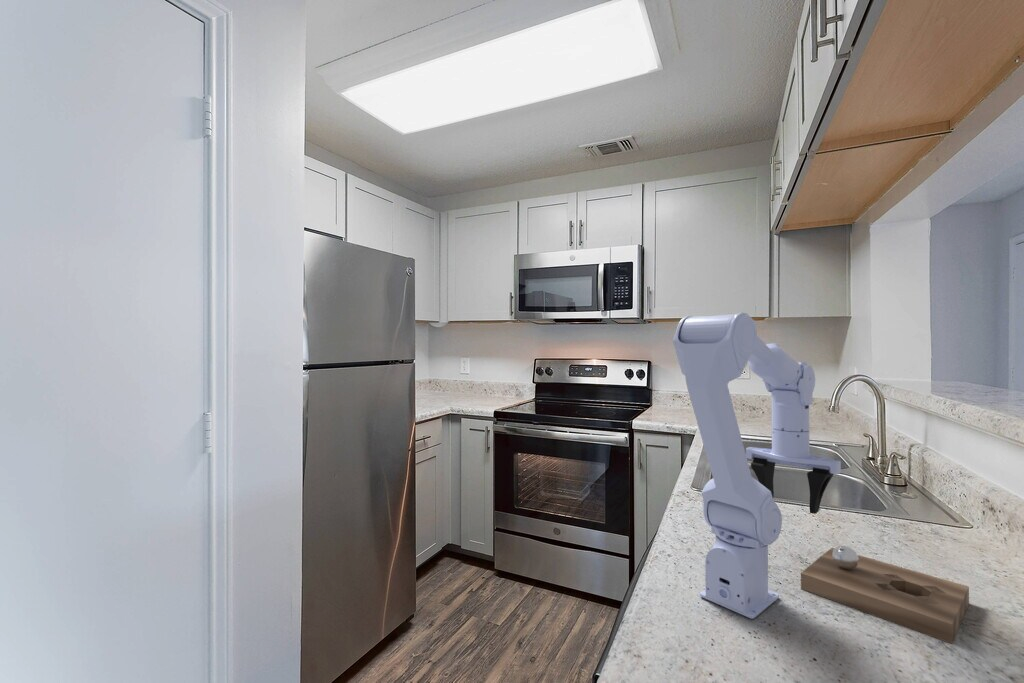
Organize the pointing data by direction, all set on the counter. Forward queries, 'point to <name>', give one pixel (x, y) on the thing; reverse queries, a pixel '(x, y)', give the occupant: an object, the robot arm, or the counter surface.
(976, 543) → the counter surface
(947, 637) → the walnut plate
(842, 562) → the steel ball
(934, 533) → the counter surface
